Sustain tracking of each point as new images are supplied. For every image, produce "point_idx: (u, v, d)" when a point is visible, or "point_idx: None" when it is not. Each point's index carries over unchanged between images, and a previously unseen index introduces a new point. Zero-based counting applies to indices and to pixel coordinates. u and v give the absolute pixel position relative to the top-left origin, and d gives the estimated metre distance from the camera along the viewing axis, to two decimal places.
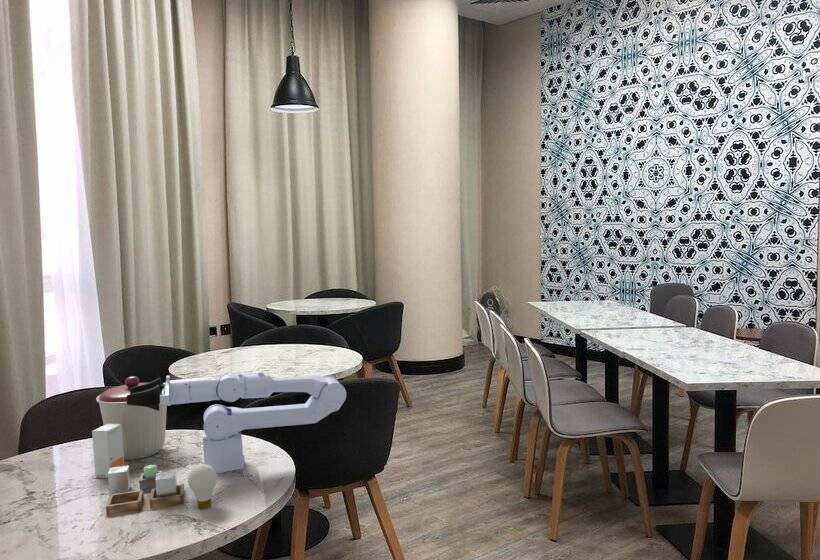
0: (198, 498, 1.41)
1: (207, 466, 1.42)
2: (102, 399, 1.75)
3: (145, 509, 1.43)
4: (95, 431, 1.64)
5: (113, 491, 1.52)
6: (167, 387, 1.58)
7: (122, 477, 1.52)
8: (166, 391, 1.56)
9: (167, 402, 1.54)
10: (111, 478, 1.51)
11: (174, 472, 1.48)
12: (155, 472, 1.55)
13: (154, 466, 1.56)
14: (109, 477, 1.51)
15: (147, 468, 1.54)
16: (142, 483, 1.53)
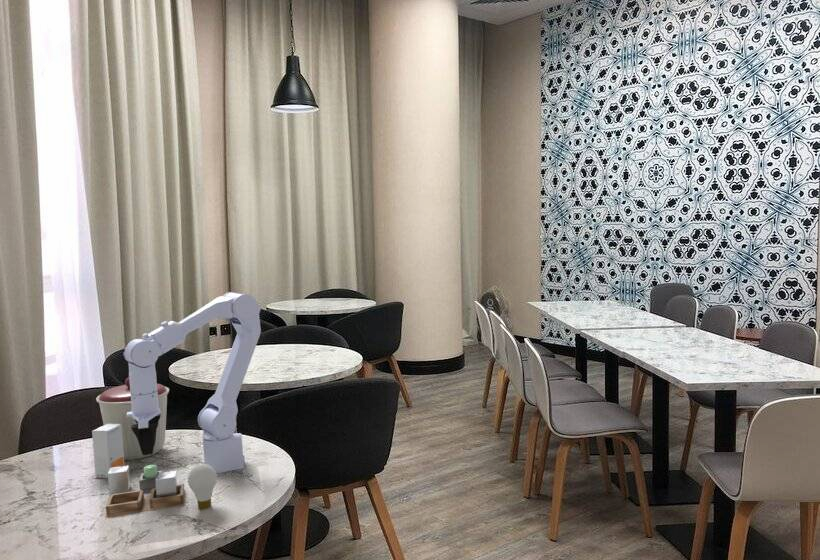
0: (198, 498, 1.41)
1: (207, 466, 1.42)
2: (102, 399, 1.75)
3: (145, 509, 1.43)
4: (95, 431, 1.64)
5: (113, 491, 1.52)
6: (134, 417, 1.50)
7: (122, 477, 1.52)
8: (137, 420, 1.49)
9: (146, 420, 1.48)
10: (111, 478, 1.51)
11: (174, 472, 1.48)
12: (155, 472, 1.55)
13: (154, 466, 1.56)
14: (109, 477, 1.51)
15: (147, 468, 1.54)
16: (142, 483, 1.53)
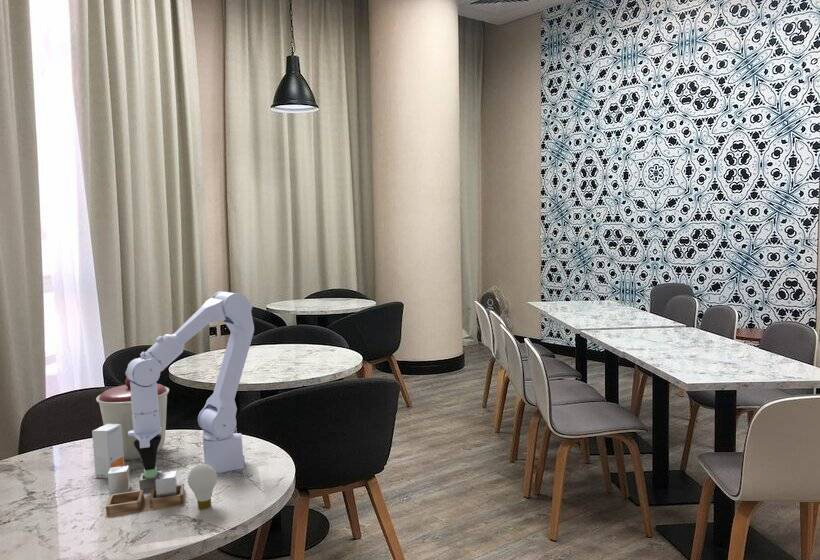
0: (198, 498, 1.41)
1: (207, 466, 1.42)
2: (102, 399, 1.75)
3: (145, 509, 1.43)
4: (95, 431, 1.64)
5: (113, 491, 1.52)
6: (136, 436, 1.51)
7: (122, 477, 1.52)
8: (138, 439, 1.50)
9: (147, 440, 1.48)
10: (111, 478, 1.51)
11: (174, 472, 1.48)
12: (155, 474, 1.55)
13: None
14: (109, 477, 1.51)
15: (147, 470, 1.54)
16: (142, 483, 1.53)
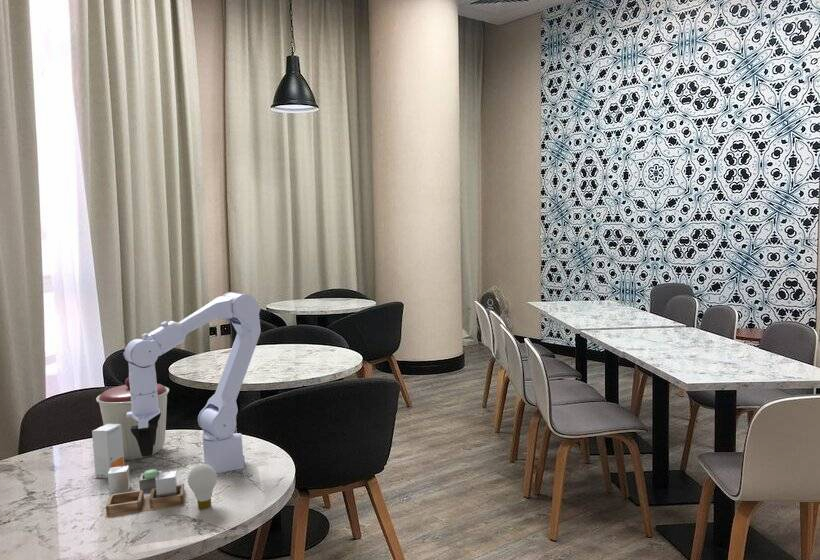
0: (198, 498, 1.41)
1: (207, 466, 1.42)
2: (102, 399, 1.75)
3: (145, 509, 1.43)
4: (95, 431, 1.64)
5: (113, 491, 1.52)
6: (134, 417, 1.50)
7: (122, 477, 1.52)
8: (136, 420, 1.49)
9: (145, 420, 1.48)
10: (111, 478, 1.51)
11: (174, 472, 1.48)
12: None
13: (154, 471, 1.56)
14: (109, 477, 1.51)
15: (148, 473, 1.54)
16: (142, 483, 1.53)
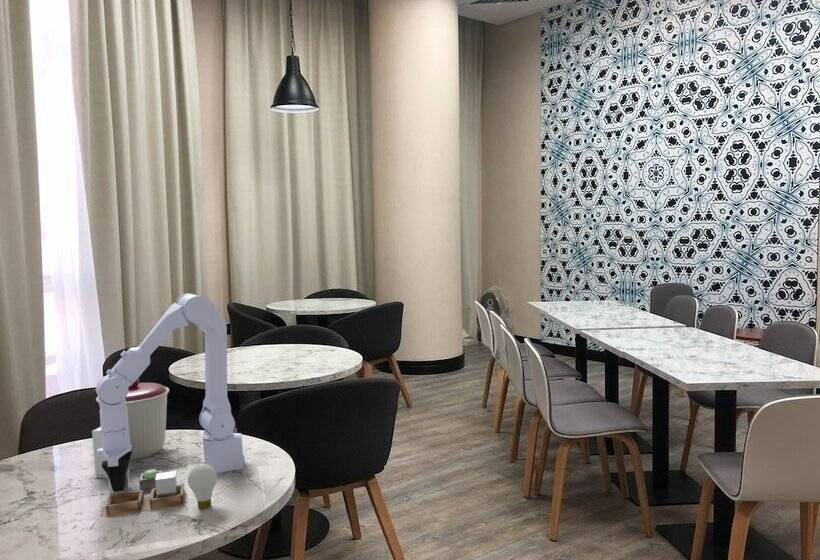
0: (198, 498, 1.41)
1: (207, 466, 1.42)
2: None
3: (145, 509, 1.43)
4: (95, 431, 1.64)
5: (113, 491, 1.52)
6: (105, 455, 1.49)
7: None
8: None
9: (115, 459, 1.46)
10: None
11: (174, 472, 1.48)
12: None
13: (154, 471, 1.56)
14: None
15: (148, 473, 1.54)
16: (142, 483, 1.53)
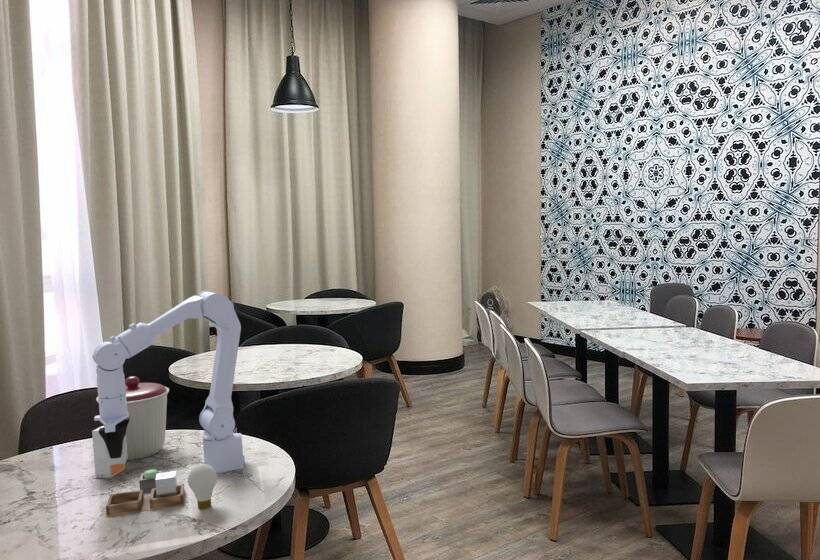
0: (198, 498, 1.41)
1: (207, 466, 1.42)
2: None
3: (145, 509, 1.43)
4: (95, 431, 1.64)
5: (110, 459, 1.51)
6: (102, 421, 1.49)
7: None
8: (104, 424, 1.47)
9: (112, 424, 1.46)
10: None
11: (174, 472, 1.48)
12: None
13: (154, 471, 1.56)
14: None
15: (148, 473, 1.54)
16: (142, 483, 1.53)
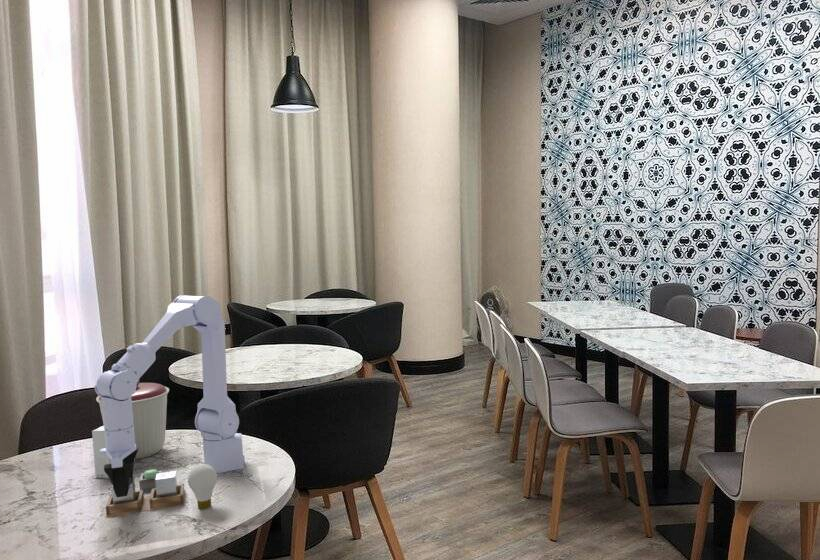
0: (198, 498, 1.41)
1: (207, 466, 1.42)
2: None
3: (145, 509, 1.43)
4: (95, 431, 1.64)
5: None
6: (108, 455, 1.40)
7: None
8: (110, 458, 1.39)
9: (120, 459, 1.37)
10: None
11: (174, 472, 1.48)
12: None
13: (154, 471, 1.56)
14: (113, 490, 1.42)
15: (148, 473, 1.54)
16: (142, 483, 1.53)
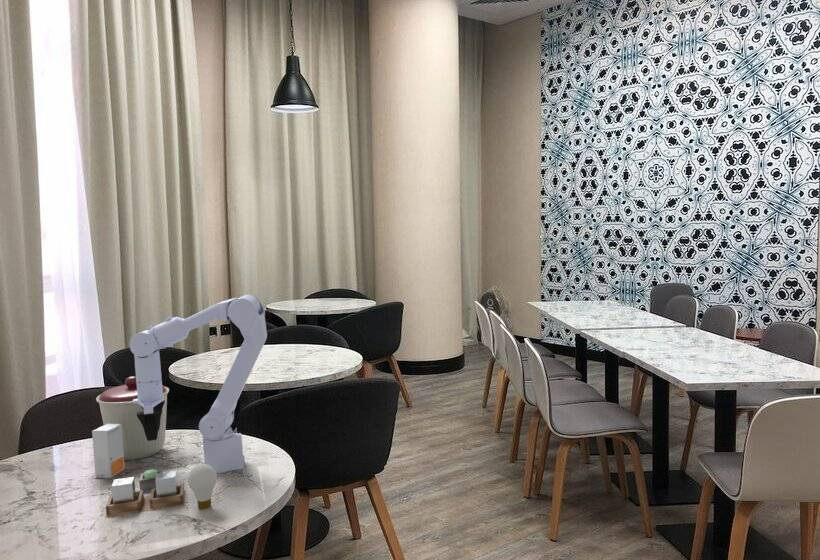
0: (198, 498, 1.41)
1: (207, 466, 1.42)
2: (102, 399, 1.75)
3: (145, 509, 1.43)
4: (95, 431, 1.64)
5: None
6: (140, 404, 1.60)
7: (127, 490, 1.43)
8: (142, 406, 1.59)
9: (151, 406, 1.57)
10: (115, 491, 1.42)
11: (174, 472, 1.48)
12: None
13: (154, 471, 1.56)
14: (113, 490, 1.42)
15: (148, 473, 1.54)
16: (142, 483, 1.53)
